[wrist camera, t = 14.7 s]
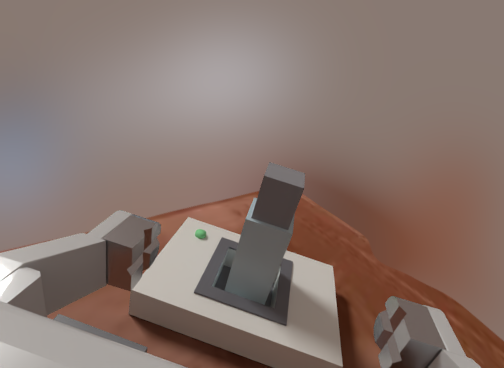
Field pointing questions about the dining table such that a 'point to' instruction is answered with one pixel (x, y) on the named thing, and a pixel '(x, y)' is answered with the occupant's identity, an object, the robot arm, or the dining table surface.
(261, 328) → the block
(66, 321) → the holster
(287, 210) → the plug
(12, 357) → the robot arm
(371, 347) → the dining table surface
